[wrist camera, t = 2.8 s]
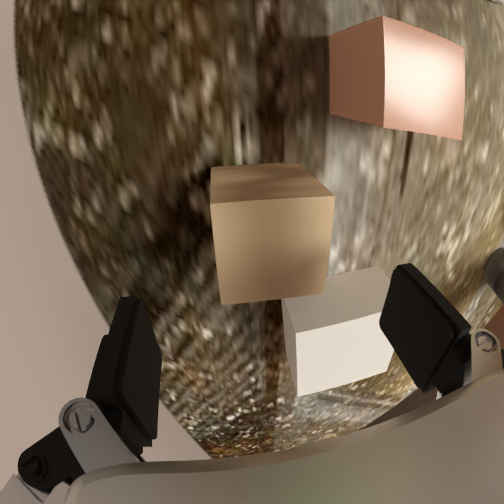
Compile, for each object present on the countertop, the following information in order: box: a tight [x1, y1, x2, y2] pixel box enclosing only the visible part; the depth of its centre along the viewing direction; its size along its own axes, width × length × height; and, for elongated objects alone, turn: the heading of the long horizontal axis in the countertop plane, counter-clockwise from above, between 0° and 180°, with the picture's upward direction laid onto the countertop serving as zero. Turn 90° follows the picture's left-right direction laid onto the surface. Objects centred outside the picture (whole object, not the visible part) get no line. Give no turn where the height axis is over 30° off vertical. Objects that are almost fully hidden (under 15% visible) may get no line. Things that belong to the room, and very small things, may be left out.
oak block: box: [210, 162, 335, 305], centre depth 15 cm, size 5×5×6 cm
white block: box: [281, 266, 394, 396], centre depth 21 cm, size 8×8×5 cm
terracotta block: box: [329, 16, 465, 140], centre depth 11 cm, size 5×5×6 cm
